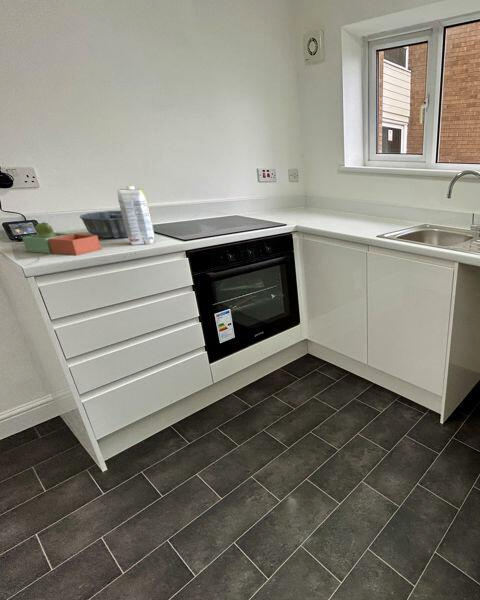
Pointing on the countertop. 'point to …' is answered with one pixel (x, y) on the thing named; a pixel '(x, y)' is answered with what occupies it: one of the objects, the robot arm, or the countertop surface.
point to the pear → (44, 230)
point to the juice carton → (136, 215)
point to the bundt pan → (105, 224)
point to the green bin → (39, 243)
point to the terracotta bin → (74, 244)
